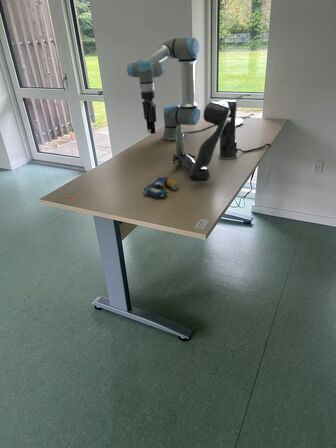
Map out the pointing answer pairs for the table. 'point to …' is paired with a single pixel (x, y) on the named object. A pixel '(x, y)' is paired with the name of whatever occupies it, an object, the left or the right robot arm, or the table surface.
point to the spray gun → (160, 183)
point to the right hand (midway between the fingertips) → (178, 154)
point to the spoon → (238, 121)
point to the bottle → (179, 143)
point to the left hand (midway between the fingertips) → (151, 132)
